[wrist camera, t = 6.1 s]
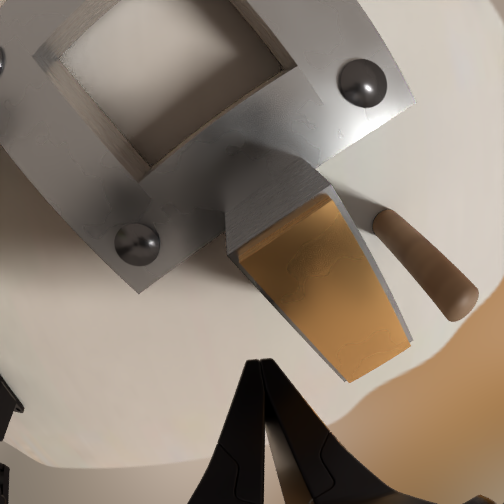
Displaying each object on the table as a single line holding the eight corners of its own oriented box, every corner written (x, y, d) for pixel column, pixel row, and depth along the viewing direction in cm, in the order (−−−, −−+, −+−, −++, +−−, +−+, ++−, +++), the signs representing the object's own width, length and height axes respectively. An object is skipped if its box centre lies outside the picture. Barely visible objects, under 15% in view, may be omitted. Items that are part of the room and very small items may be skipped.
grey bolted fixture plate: (-17, 72, 8) (-99, 85, 3) (209, -115, 5) (208, -185, 1) (239, 349, 16) (248, 433, 12) (440, 220, 13) (506, 276, 9)
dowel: (370, 238, 14) (439, 324, 8) (375, 209, 13) (455, 288, 8) (395, 237, 14) (469, 318, 9) (401, 209, 13) (484, 283, 8)
